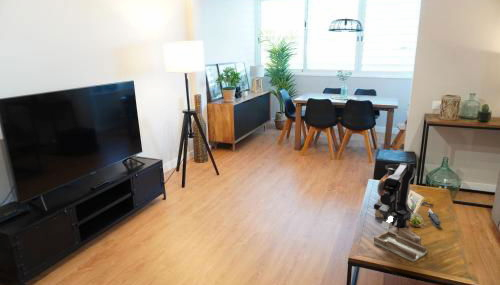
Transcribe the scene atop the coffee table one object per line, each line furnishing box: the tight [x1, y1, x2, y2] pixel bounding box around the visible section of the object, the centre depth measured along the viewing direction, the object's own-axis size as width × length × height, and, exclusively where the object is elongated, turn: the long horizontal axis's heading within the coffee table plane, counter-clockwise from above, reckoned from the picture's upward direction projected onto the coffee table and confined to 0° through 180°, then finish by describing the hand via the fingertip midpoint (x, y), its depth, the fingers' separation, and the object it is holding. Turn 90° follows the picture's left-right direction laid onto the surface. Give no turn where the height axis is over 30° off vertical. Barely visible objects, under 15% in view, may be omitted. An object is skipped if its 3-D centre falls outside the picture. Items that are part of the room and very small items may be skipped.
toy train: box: [374, 196, 384, 219], centre depth 234 cm, size 6×17×10 cm, turn 151°
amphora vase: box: [376, 163, 410, 204], centre depth 248 cm, size 22×22×28 cm
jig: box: [373, 229, 428, 263], centre depth 194 cm, size 14×24×4 cm, turn 36°
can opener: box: [427, 208, 442, 228], centre depth 224 cm, size 19×6×5 cm, turn 167°
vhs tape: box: [421, 201, 434, 208], centre depth 249 cm, size 14×8×2 cm, turn 145°
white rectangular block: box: [381, 215, 397, 231], centre depth 198 cm, size 9×4×4 cm, turn 131°
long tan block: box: [398, 227, 422, 246], centre depth 201 cm, size 5×14×5 cm, turn 15°
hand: (389, 224), depth 198 cm, fingers closed on white rectangular block, 4 cm apart
